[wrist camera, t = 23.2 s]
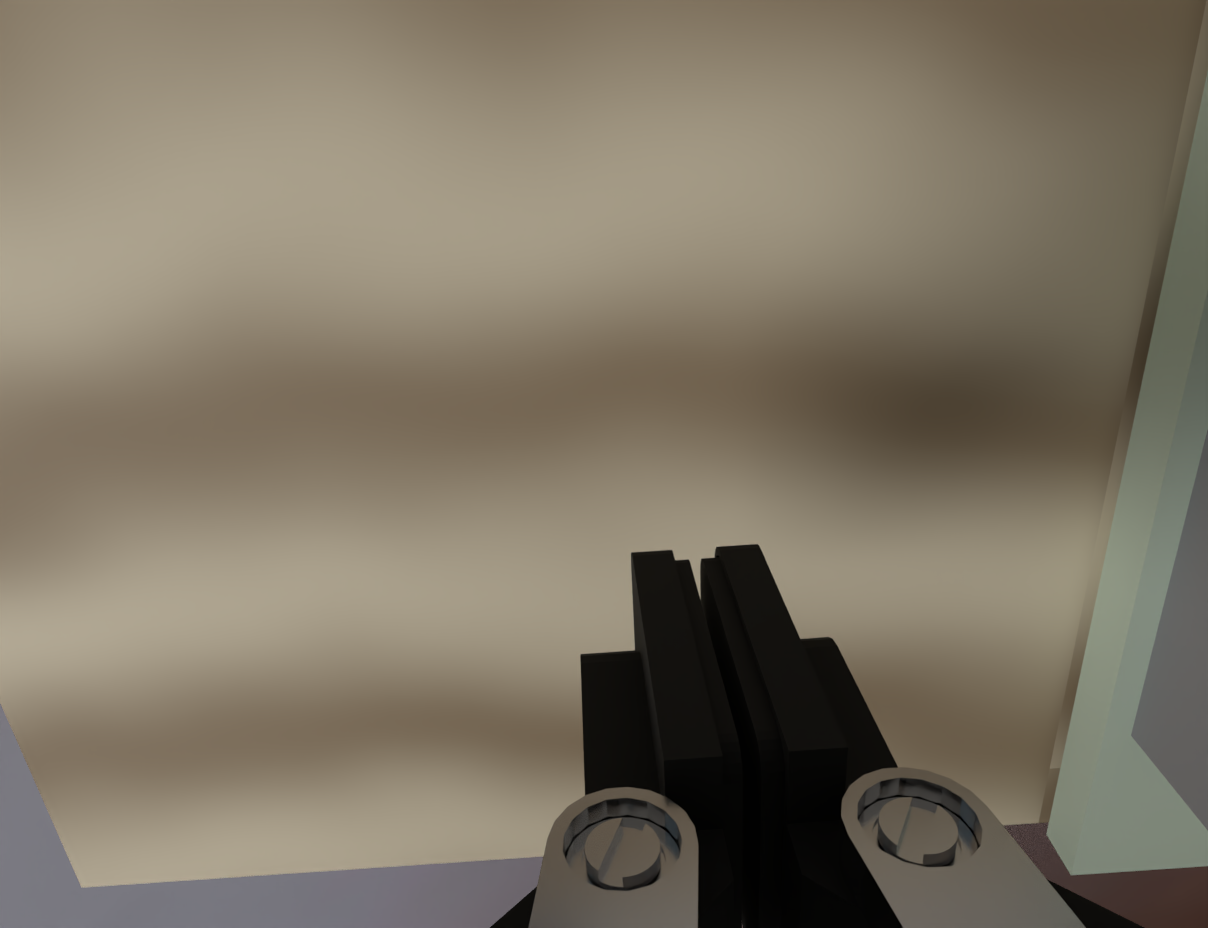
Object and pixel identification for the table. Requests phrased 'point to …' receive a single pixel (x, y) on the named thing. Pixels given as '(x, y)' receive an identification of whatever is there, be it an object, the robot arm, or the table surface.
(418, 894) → the table surface
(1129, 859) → the sliding lid
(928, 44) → the well frame
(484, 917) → the table surface
